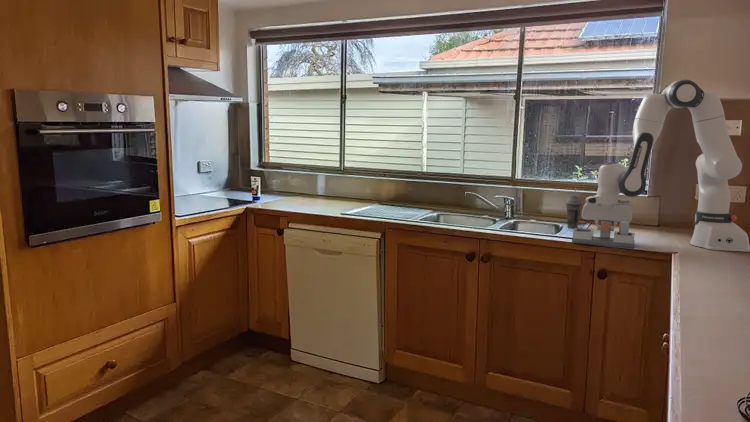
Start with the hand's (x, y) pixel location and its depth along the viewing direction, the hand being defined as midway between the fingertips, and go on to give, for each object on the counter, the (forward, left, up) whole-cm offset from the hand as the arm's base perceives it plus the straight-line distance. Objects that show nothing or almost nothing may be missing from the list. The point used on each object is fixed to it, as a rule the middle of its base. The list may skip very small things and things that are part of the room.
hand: (605, 230), depth 235 cm
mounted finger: (-8, +10, -2) cm, 13 cm away
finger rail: (0, +10, -4) cm, 11 cm away
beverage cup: (+16, -22, -4) cm, 28 cm away
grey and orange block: (0, 0, -4) cm, 4 cm away
